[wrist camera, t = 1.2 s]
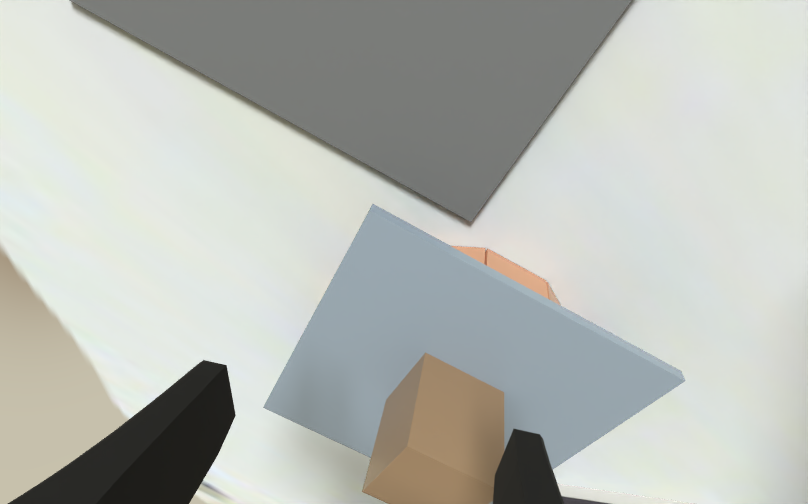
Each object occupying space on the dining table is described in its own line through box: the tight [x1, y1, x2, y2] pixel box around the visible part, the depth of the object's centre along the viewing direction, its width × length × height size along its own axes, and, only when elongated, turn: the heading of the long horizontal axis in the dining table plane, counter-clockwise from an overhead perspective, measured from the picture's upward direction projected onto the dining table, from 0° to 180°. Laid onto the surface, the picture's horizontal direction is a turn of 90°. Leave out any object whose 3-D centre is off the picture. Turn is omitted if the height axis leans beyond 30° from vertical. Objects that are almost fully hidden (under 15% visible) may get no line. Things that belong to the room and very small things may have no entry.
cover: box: [263, 204, 685, 504], centre depth 19 cm, size 14×14×5 cm
